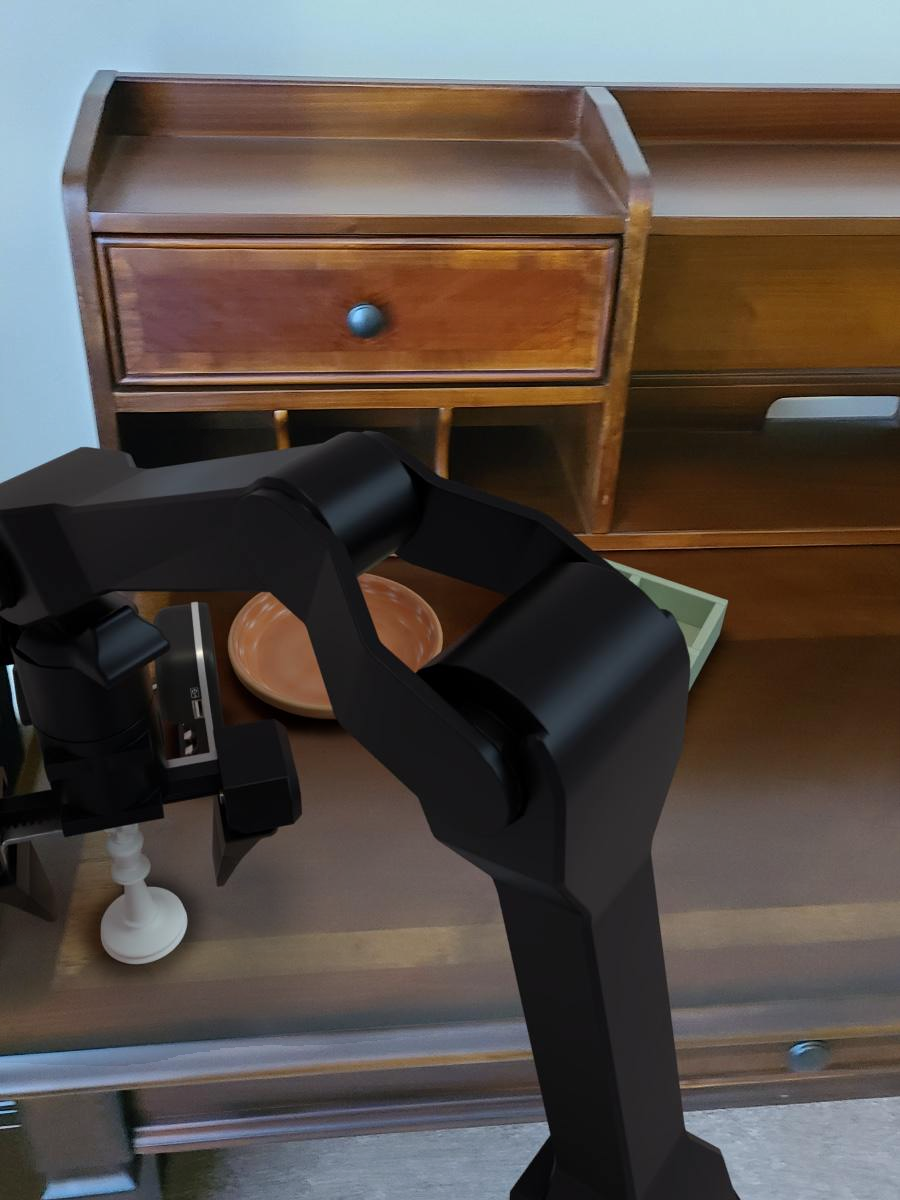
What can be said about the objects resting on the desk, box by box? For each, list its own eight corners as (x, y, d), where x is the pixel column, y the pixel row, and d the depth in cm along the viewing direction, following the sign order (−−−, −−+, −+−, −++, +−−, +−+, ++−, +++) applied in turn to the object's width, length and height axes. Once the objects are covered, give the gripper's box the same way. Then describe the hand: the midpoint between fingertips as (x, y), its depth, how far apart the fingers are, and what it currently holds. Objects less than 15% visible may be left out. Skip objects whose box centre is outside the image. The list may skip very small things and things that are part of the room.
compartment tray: (621, 817, 71) (629, 781, 69) (427, 734, 76) (428, 698, 74) (719, 634, 86) (728, 600, 84) (552, 576, 91) (556, 542, 89)
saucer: (298, 577, 90) (296, 548, 88) (473, 631, 85) (475, 602, 83) (188, 696, 78) (183, 665, 76) (384, 767, 74) (384, 736, 72)
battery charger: (168, 721, 76) (146, 596, 69) (223, 713, 77) (206, 589, 70) (173, 795, 71) (150, 667, 64) (231, 786, 72) (214, 659, 64)
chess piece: (177, 966, 61) (154, 856, 55) (91, 963, 61) (58, 852, 55) (194, 893, 65) (175, 783, 59) (113, 890, 65) (84, 779, 58)
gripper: (261, 573, 60) (277, 765, 69) (-103, 624, 55) (-30, 822, 65) (296, 710, 51) (310, 905, 61) (-128, 784, 47) (-40, 982, 56)
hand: (138, 897), depth 61 cm, fingers open, 9 cm apart
